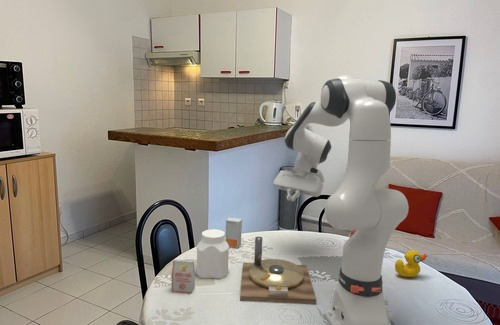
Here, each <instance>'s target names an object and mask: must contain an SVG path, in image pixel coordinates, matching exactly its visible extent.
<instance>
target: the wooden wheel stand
mask: <svg viewBox="0 0 500 325" xmlns="http://www.w3.org/2000/svg"><path fill="white" fill-rule="evenodd" d="M253 263H254V262H242V272H241V273H242V274H241V281H240V282H241V284H240V292H239V293H240V295H239V300H240V301H242V302H262V303H263V302H266V303H286V304H288V303H289V304H303V305H304V304H306V305H317V296H316V293H315V290H314V286H313V284H312V281H311V277H310V274H309V270H308V266H307V265H306V264H297V265H298V266H299V267H300V268H301V269H302V270H303V273H304V275H303V282H302V283H301V284H300V285H299V286H297V287H295V288H292V289H288V288H287V287H280V286H276V287H270V286H269V289H267V288H264V287H261V286H259V285H257V284H255V283H254V282H253V281H252V280H251V279H250V277H249V269H250V266H251V265H252V264H253Z"/></svg>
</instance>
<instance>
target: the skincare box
mask: <svg viewBox="0 0 500 325" xmlns="http://www.w3.org/2000/svg"><path fill="white" fill-rule="evenodd" d="M242 224H243V219H242V218H239V217H238V218H237V217H230V216H229V217H228V218H227V219H226V220H225V240H226V242H227V243H228V245H229V248H234V249H239V248H240V246H241V245H242V228H243V226H242Z"/></svg>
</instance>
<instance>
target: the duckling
mask: <svg viewBox="0 0 500 325" xmlns="http://www.w3.org/2000/svg"><path fill="white" fill-rule="evenodd" d="M403 258H404V259H405V261H406V262H407V263H405V264H404V261H403V260H402V259H397V260H396V261H395V264H394V270H395V271H396V273H397V274H398V275H399V276H401V277H404V278H414V277H416V276H417V275H419V273H420V272H421V266H420V264H419V263H420V262H424V261H425V260H426V258H427V253H424V254H422V255H421V253H420V252H418V251H417V250H413V249H411V250H409V251H407V252H405V254H404V256H403Z"/></svg>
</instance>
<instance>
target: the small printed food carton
mask: <svg viewBox="0 0 500 325" xmlns="http://www.w3.org/2000/svg"><path fill="white" fill-rule="evenodd" d="M171 269H172V270H171V292H172V293H181V294H182V293H183V294H193V292H194V290H195V287H196V281H195V280H196V270H195V262H194V261H189V260H188V261H186V260H176V259H175V260H173V261H172V268H171Z"/></svg>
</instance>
